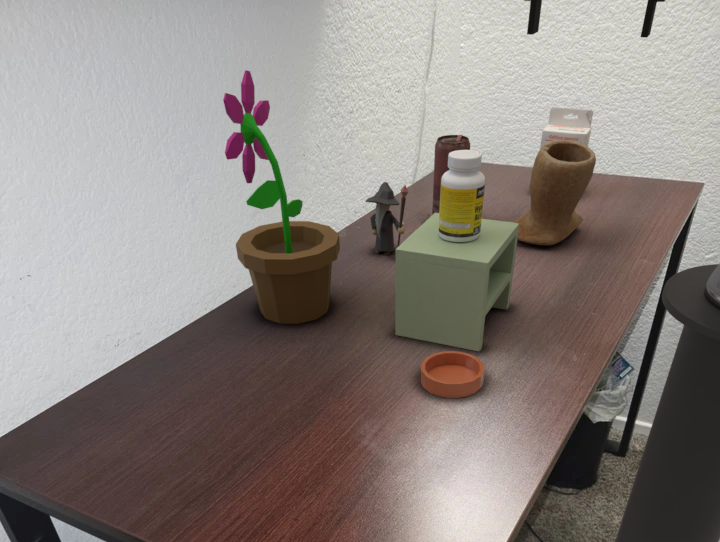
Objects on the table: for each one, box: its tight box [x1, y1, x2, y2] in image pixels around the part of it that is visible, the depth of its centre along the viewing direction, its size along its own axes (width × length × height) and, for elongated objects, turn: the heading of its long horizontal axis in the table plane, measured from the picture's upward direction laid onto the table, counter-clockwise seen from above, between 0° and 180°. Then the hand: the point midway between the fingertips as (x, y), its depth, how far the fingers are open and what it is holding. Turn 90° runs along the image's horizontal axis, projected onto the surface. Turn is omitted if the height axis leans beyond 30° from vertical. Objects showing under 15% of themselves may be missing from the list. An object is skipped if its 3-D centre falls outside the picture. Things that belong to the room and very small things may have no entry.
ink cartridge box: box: [539, 106, 594, 150], centre depth 127 cm, size 9×5×15 cm, turn 66°
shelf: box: [394, 213, 519, 352], centre depth 89 cm, size 12×14×12 cm
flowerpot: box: [222, 70, 341, 325], centre depth 88 cm, size 14×14×30 cm
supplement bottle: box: [438, 149, 486, 242], centre depth 82 cm, size 5×5×10 cm
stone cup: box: [513, 140, 597, 246], centre depth 110 cm, size 15×12×15 cm
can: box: [431, 134, 471, 216], centre depth 118 cm, size 6×6×14 cm
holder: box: [420, 350, 485, 399], centre depth 80 cm, size 8×8×2 cm
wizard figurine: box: [365, 181, 409, 256], centre depth 108 cm, size 8×6×12 cm
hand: (587, 34), depth 81 cm, fingers open, 13 cm apart
